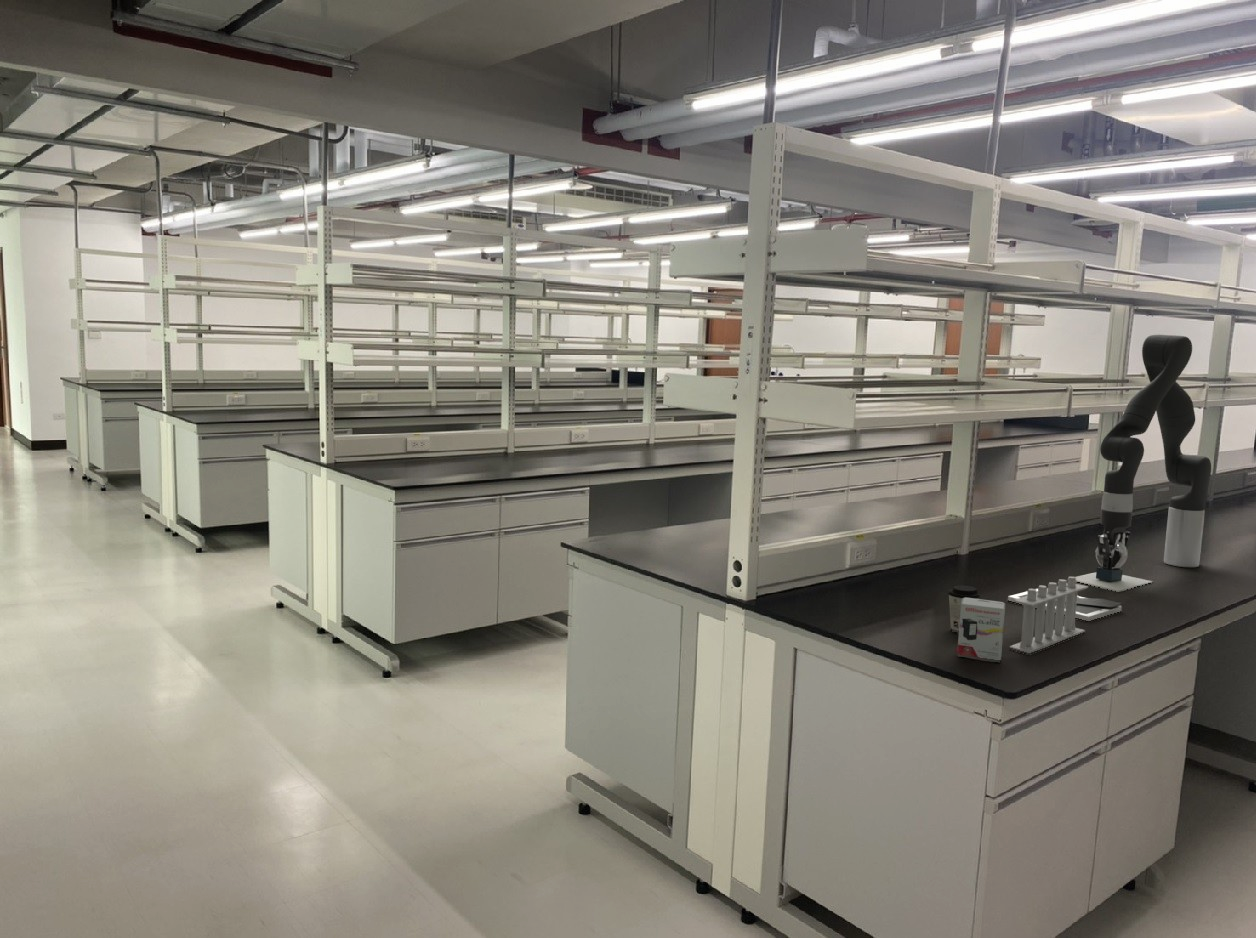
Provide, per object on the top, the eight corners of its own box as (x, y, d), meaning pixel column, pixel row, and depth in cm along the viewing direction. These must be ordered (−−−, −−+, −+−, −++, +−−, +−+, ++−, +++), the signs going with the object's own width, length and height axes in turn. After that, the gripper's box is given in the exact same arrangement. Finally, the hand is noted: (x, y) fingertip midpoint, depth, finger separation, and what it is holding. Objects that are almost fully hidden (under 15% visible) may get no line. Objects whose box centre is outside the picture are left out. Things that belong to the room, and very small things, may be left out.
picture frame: (1121, 614, 222) (1041, 595, 239) (1122, 603, 222) (1041, 584, 238) (1088, 625, 213) (1007, 604, 230) (1089, 613, 213) (1008, 593, 229)
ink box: (956, 657, 187) (959, 602, 186) (957, 650, 192) (961, 596, 190) (1000, 664, 184) (1004, 608, 182) (1001, 656, 188) (1005, 602, 187)
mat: (1102, 572, 261) (1102, 570, 261) (1152, 583, 250) (1152, 581, 250) (1067, 580, 251) (1068, 578, 251) (1118, 592, 240) (1118, 590, 240)
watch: (1099, 575, 255) (1103, 537, 254) (1127, 581, 249) (1133, 542, 248) (1088, 576, 252) (1093, 538, 251) (1117, 583, 245) (1122, 543, 244)
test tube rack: (1065, 628, 208) (1070, 572, 206) (1084, 633, 205) (1089, 576, 203) (1009, 649, 193) (1013, 589, 191) (1028, 655, 189) (1033, 594, 188)
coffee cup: (952, 635, 201) (955, 592, 200) (940, 626, 208) (943, 584, 207) (983, 635, 202) (986, 592, 200) (970, 626, 209) (972, 584, 207)
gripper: (1116, 513, 241) (1111, 575, 243) (1144, 508, 249) (1138, 568, 251) (1089, 508, 247) (1084, 569, 249) (1116, 504, 255) (1111, 563, 257)
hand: (1111, 569), depth 250 cm, fingers open, 4 cm apart
